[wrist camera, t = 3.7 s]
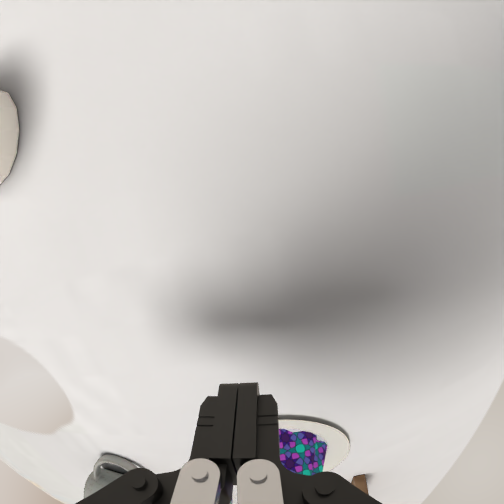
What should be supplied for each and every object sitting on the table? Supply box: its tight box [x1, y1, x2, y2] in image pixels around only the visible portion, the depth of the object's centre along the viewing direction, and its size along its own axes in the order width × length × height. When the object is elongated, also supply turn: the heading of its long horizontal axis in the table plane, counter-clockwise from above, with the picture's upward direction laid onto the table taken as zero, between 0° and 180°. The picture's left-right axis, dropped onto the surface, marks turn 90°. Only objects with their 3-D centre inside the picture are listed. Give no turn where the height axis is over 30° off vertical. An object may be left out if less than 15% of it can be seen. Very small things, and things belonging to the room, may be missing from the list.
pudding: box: [278, 420, 350, 476], centre depth 19 cm, size 12×12×5 cm
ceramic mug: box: [84, 455, 137, 499], centre depth 22 cm, size 11×8×8 cm
